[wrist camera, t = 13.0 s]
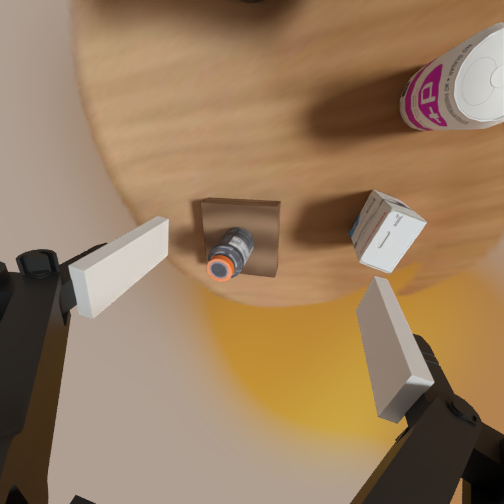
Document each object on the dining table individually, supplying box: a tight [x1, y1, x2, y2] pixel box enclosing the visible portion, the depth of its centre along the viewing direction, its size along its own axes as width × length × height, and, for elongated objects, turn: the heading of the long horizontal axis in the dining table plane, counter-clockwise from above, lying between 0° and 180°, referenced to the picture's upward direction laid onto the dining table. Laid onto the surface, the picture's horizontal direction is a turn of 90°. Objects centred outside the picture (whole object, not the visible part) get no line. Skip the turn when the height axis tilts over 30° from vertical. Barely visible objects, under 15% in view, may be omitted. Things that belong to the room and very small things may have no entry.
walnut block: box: [201, 198, 281, 278], centre depth 48 cm, size 14×14×4 cm
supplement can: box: [400, 22, 504, 131], centre depth 28 cm, size 8×8×15 cm
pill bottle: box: [207, 227, 254, 282], centre depth 41 cm, size 6×6×11 cm
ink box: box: [350, 190, 427, 274], centre depth 38 cm, size 8×5×12 cm, turn 162°
